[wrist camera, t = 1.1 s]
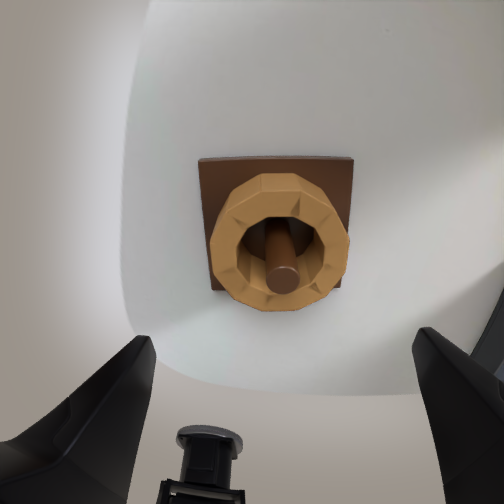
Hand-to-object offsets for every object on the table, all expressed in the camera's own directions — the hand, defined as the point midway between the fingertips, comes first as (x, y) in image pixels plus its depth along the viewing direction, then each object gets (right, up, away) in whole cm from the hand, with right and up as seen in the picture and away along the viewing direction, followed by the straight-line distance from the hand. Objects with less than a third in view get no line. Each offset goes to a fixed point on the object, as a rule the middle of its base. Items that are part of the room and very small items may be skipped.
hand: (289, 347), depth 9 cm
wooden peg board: (0, +4, +8) cm, 9 cm away
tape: (0, +4, +7) cm, 8 cm away
